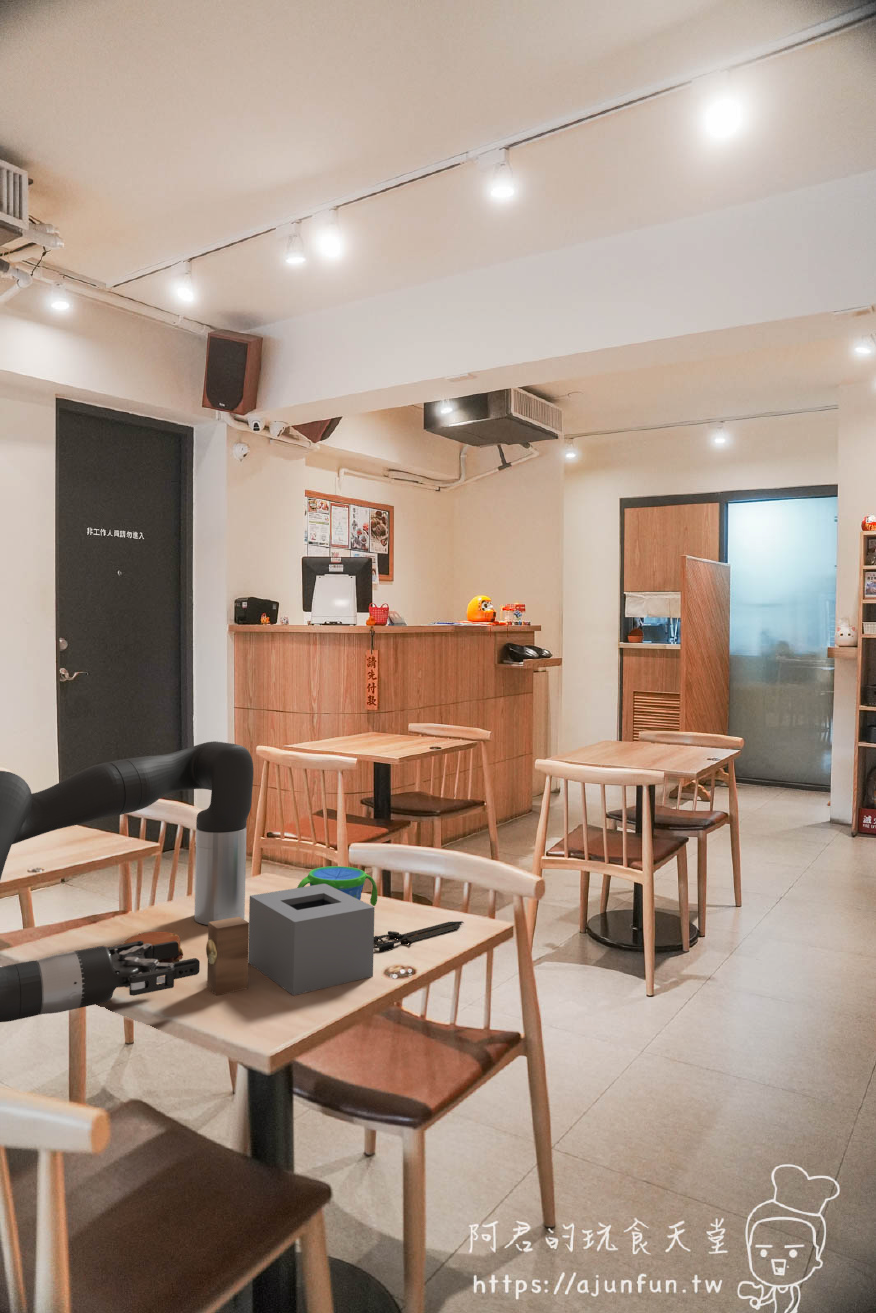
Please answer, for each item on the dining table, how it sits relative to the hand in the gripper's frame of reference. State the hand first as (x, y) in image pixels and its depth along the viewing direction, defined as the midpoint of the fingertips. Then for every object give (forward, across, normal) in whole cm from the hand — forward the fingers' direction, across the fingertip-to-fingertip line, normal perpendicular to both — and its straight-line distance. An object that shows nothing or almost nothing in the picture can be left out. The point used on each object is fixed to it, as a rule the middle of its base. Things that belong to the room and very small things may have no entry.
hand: (187, 956), depth 130 cm
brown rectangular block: (+6, 0, +6) cm, 9 cm away
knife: (+43, +4, +7) cm, 44 cm away
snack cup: (+34, +16, +6) cm, 38 cm away
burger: (0, +16, +6) cm, 17 cm away
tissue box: (+20, 0, +6) cm, 21 cm away
